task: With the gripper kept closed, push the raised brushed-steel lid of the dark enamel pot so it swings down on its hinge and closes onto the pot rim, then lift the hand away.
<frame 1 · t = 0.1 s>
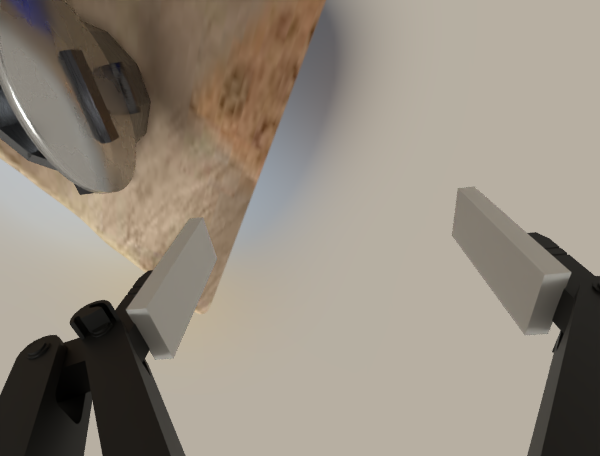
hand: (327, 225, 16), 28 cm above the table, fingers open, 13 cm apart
lid: (87, 99, 26), point 15 cm above the table, hinge at 100.0°
pot: (85, 93, 40), on the table
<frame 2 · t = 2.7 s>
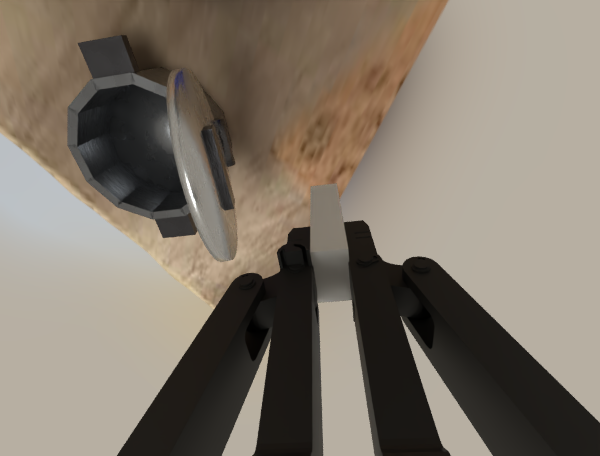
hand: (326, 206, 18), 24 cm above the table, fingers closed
lid: (215, 169, 26), point 15 cm above the table, hinge at 100.0°
pot: (168, 138, 40), on the table
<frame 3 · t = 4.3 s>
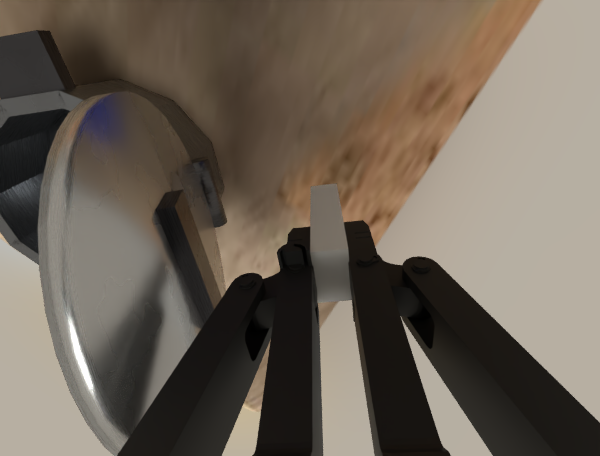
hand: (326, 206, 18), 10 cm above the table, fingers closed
lid: (186, 265, 15), point 15 cm above the table, hinge at 100.0°
pot: (135, 176, 29), on the table
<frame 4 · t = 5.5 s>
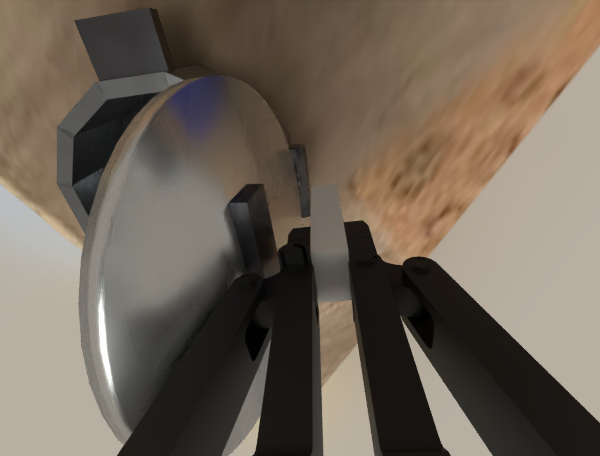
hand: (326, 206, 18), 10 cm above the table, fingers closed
lid: (255, 261, 14), point 15 cm above the table, hinge at 76.9°, touching gripper
pot: (204, 166, 28), on the table
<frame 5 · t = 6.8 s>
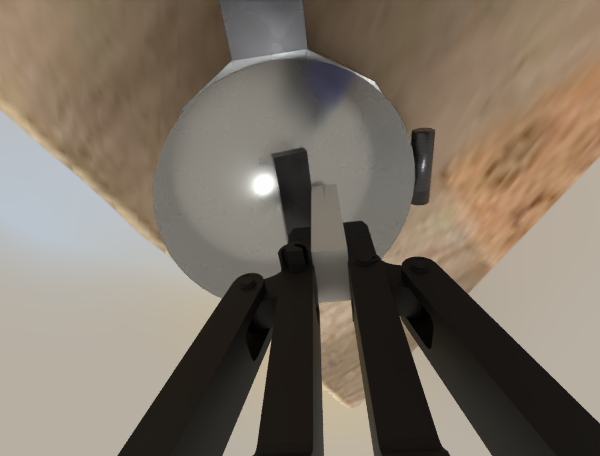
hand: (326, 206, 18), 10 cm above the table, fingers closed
lid: (296, 207, 18), point 10 cm above the table, hinge at 15.5°, touching gripper
pot: (293, 155, 27), on the table
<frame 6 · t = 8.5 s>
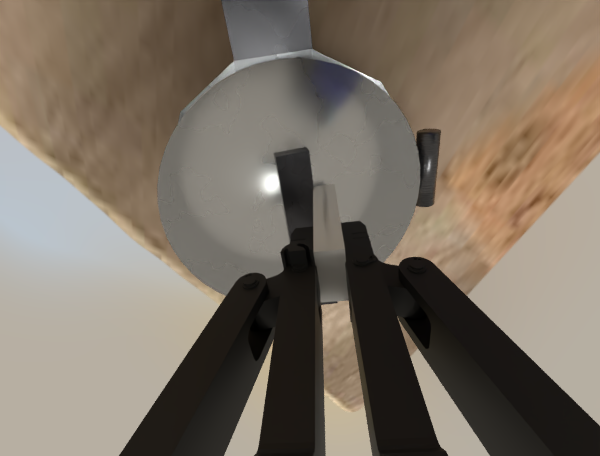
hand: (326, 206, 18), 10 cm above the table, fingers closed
lid: (298, 207, 19), point 10 cm above the table, hinge at 10.7°, touching gripper
pot: (294, 158, 27), on the table
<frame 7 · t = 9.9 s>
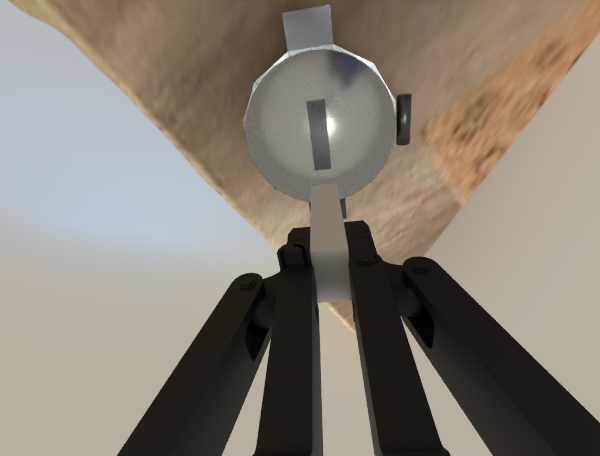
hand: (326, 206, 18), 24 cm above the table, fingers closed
lid: (319, 135, 32), point 8 cm above the table, hinge at -1.1°, touching pot
pot: (318, 119, 39), on the table
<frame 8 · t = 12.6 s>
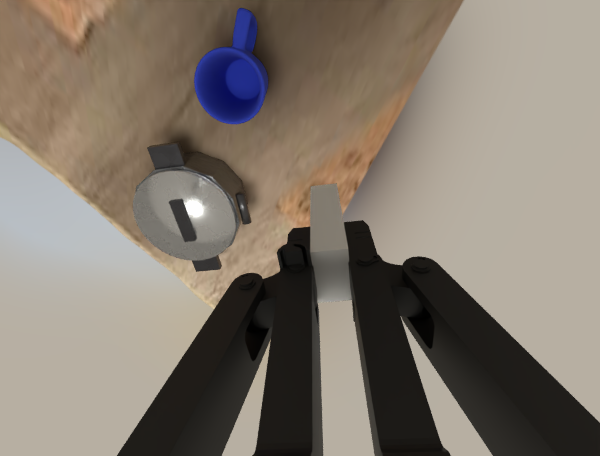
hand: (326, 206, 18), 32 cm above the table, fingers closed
lid: (184, 219, 48), point 8 cm above the table, hinge at -1.1°, touching pot
mug: (248, 64, 44), on the table
pot: (200, 197, 54), on the table
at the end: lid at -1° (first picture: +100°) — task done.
